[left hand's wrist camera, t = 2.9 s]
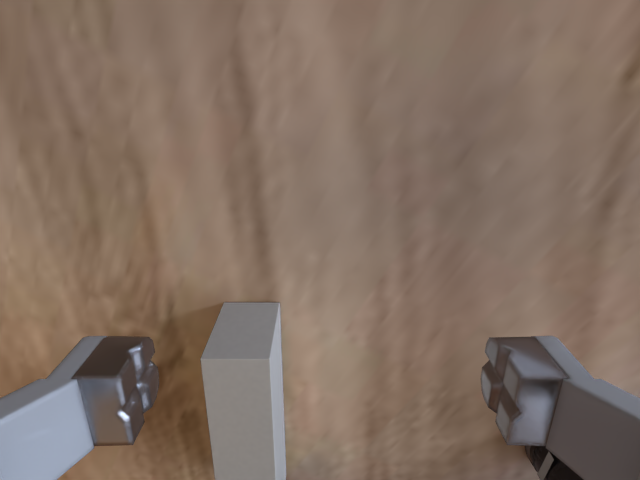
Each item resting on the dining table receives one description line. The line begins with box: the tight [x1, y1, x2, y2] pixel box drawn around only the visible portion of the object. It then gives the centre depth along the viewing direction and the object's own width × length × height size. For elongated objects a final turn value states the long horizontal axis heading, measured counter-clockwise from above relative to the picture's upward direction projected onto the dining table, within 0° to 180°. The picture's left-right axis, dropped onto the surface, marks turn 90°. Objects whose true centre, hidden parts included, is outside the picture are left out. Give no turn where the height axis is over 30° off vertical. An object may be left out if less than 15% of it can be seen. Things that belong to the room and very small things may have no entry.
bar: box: [200, 302, 286, 480], centre depth 43 cm, size 24×6×9 cm, turn 0°
